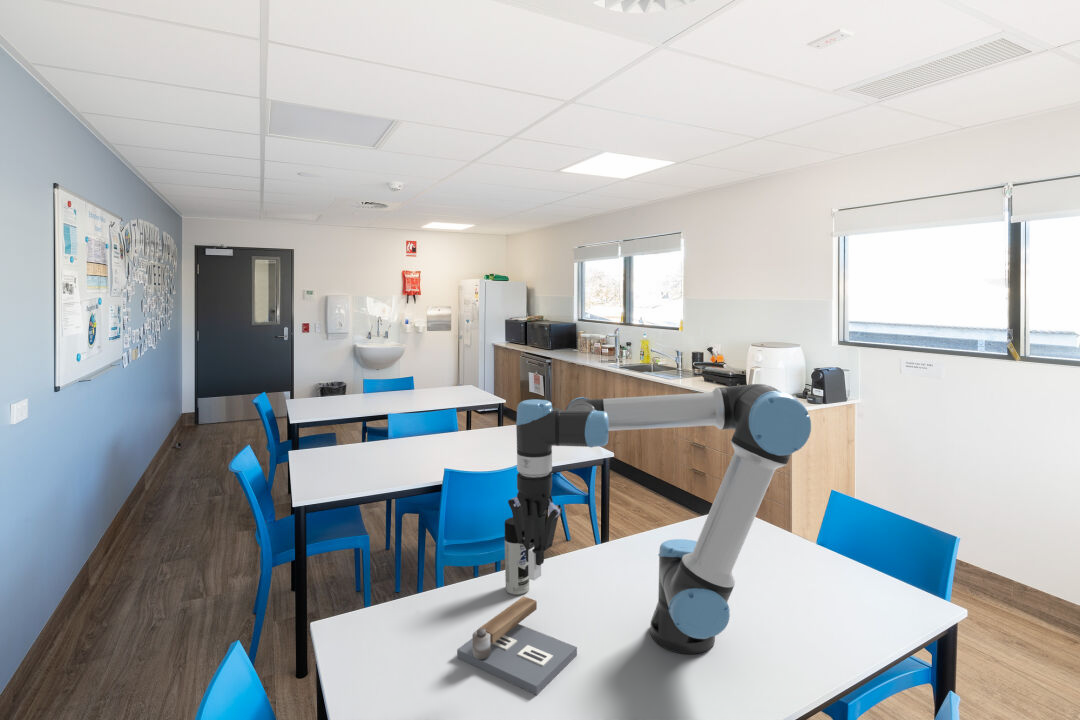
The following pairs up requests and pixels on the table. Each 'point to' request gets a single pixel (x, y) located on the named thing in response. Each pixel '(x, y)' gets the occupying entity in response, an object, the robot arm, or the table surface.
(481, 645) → the swing bar
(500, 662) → the label board
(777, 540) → the table surface
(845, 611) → the table surface
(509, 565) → the spray can
